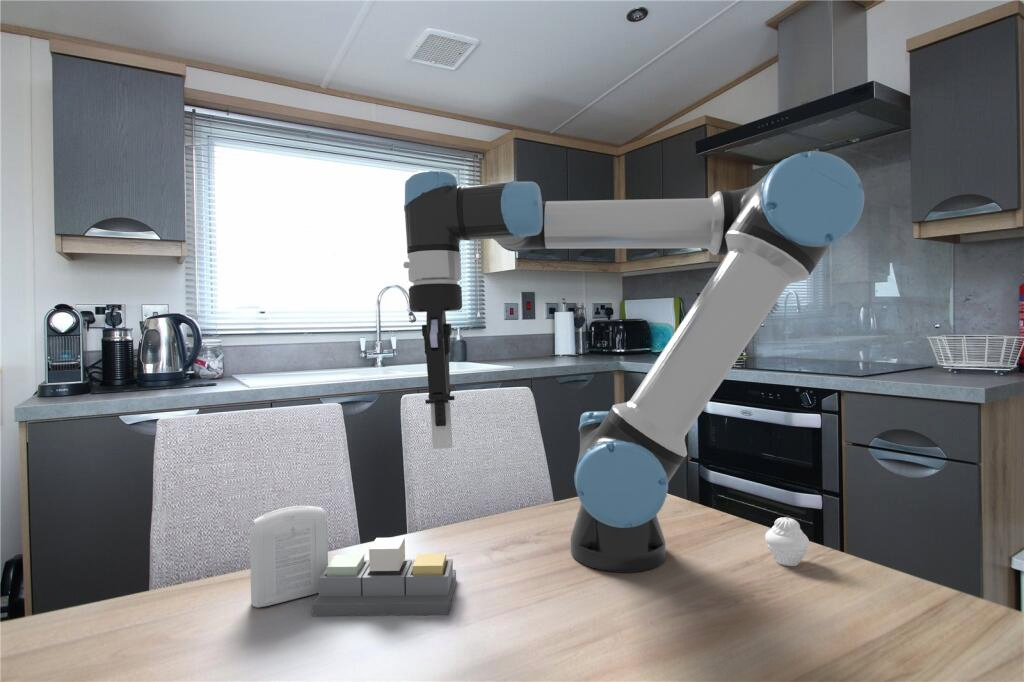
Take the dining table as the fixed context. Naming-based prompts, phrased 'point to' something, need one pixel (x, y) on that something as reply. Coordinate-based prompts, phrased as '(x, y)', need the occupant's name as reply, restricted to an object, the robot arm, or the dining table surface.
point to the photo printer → (287, 554)
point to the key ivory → (387, 554)
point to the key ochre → (430, 564)
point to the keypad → (385, 592)
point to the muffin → (787, 541)
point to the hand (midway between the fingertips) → (442, 447)
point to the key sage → (345, 565)
